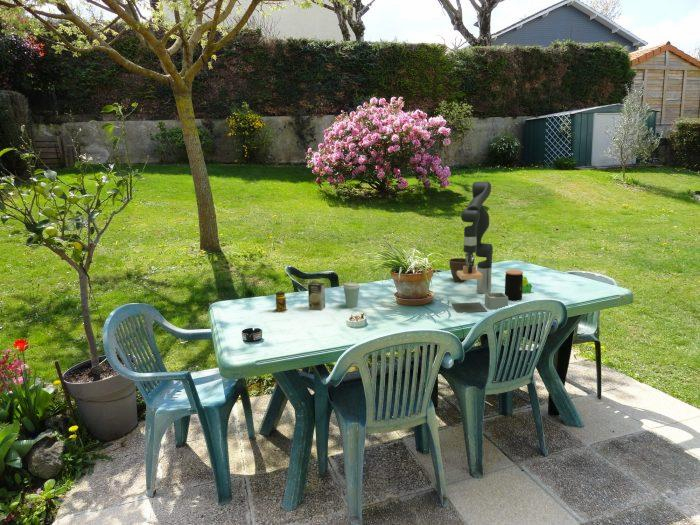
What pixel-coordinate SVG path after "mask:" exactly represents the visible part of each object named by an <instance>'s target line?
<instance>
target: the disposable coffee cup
mask: <svg viewBox="0 0 700 525" xmlns="http://www.w3.org/2000/svg"><path fill="white" fill-rule="evenodd" d="M342 287H343V293H344V297H345V303H346V307H347V308H351V309H353V308H357V306H358V301H359V292H360V284H359V283H357V282H344V283H343V286H342Z"/></svg>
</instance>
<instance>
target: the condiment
mask: <svg viewBox="0 0 700 525" xmlns="http://www.w3.org/2000/svg"><path fill="white" fill-rule="evenodd" d="M286 299H287V298H286V293H285V292H284V291H281V290H280V291H277V292H275V305H276V306H275V307H276V308H275V309H273V310H272V311H271V312H272V313H285V312H287V311H288V310H289V308H287V300H286Z"/></svg>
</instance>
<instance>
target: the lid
mask: <svg viewBox="0 0 700 525" xmlns="http://www.w3.org/2000/svg"><path fill="white" fill-rule="evenodd" d="M457 276H458V277H459V278H460V279H461V280H465V281H466V280H467V281H468V280H477V279H483V275H482V274H481V273H480V272H479V271H478V270H477V265H474V266H473V267H472V273H468V266H463V271H457Z"/></svg>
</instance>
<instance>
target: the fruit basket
mask: <svg viewBox="0 0 700 525" xmlns="http://www.w3.org/2000/svg"><path fill="white" fill-rule="evenodd" d="M532 288H533V285H532V284H531V283H529V281H528V278H527V276H523V287H522V294H530V293H531V291H532Z"/></svg>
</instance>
